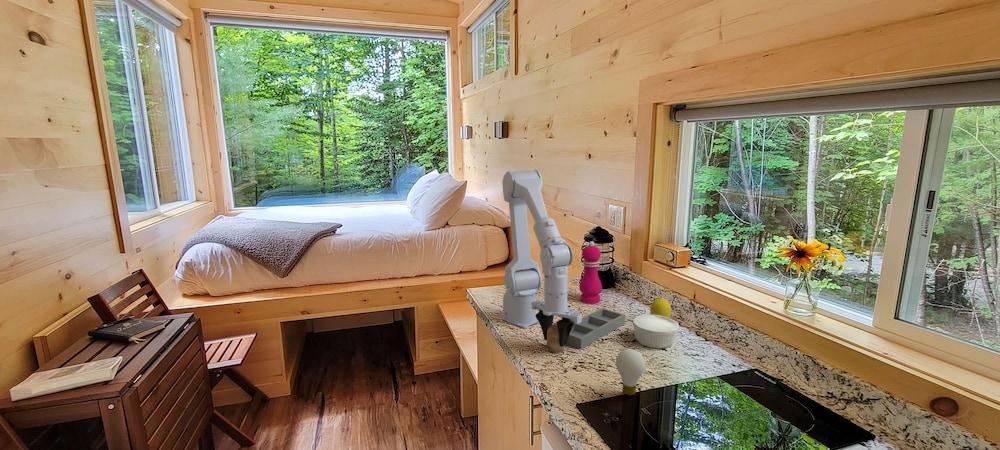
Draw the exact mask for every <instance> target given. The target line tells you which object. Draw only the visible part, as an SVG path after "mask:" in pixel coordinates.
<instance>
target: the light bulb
mask: <svg viewBox="0 0 1000 450" xmlns="http://www.w3.org/2000/svg"><path fill="white" fill-rule="evenodd" d="M615 367H616V370H617V372H618V374H619V375H620V377H621V381H622V392H623V393H624V394H626V395H627V396H632V395H635V394H636V393H637V385H638V382H639V379H640V378H641V376H642V375H643V374H644V373H645V369H646V361H645V358H644V356H643V355H642V353H640V352H639V351H637V350H636V349H632V348H627V349H624V350H622V351H620V352H619V353H618V354H617V356H616V359H615Z"/></svg>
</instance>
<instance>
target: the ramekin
mask: <svg viewBox="0 0 1000 450" xmlns="http://www.w3.org/2000/svg"><path fill="white" fill-rule="evenodd" d="M632 325H633V329H634V335H635V339H636V341H637V342H638V343H639V344H641V345H642V346H645V347H647V348H653V349H667V348H670V347H671V346H672V345H674V343H675V341H676V337H677V332H678V331H679V328H680V326H679V323H678V322H677V321H675V320H674V319H672V318H671V317H670V318H667V317H664V316H660V315H651V314H641V315H637V316H636V317H634V318H633V320H632Z"/></svg>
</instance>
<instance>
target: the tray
mask: <svg viewBox="0 0 1000 450" xmlns="http://www.w3.org/2000/svg"><path fill="white" fill-rule="evenodd" d="M625 324H626V314H624V313H621V312H617V311H615V310H610V309H608V308H604V307H602V308H600V309H599V308H598V309H597V310H596V311H594V312H591V313H589V314H588V315H586V316H582V322H581V323H579V324H574V326H573V328H572V330H571V332H570V335H569V338H568V341H567V345H569V346H572V347H574V348H577V349H580V350H583V349H584V348H586V347H588V346H589V345H591V344H593V343H594V342H596V341H598V340H599V339H601V338H604V337H605V336H606V335H608V334H611V332H614V331H616V330H617V329H619V328H620V327H622V326H624V325H625Z"/></svg>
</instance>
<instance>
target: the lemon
mask: <svg viewBox="0 0 1000 450" xmlns="http://www.w3.org/2000/svg"><path fill="white" fill-rule="evenodd" d="M649 313H650V315H660V316H664V317H667V318H670V319H671V315H672V307H671V304H670V302H669V301H668V300H667V299H665V298H664V297H663V296H662V297H661V296H660V297H658V298H655V299H654V300H653V301H652V302H651V306H650V311H649Z"/></svg>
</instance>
